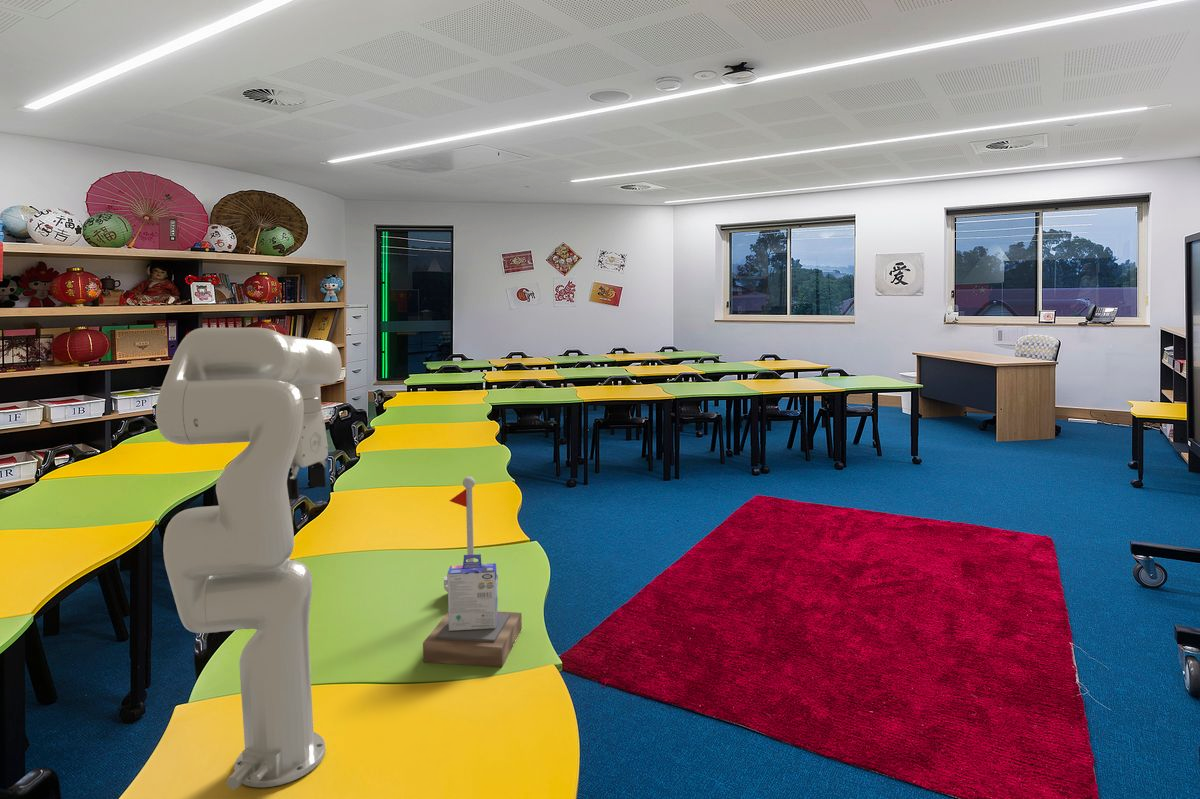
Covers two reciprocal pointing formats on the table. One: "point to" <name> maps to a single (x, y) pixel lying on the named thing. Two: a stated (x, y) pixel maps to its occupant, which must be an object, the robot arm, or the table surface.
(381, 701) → the table surface
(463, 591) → the ink cartridge box
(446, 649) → the walnut plinth
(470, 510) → the flag stand
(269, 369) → the robot arm
